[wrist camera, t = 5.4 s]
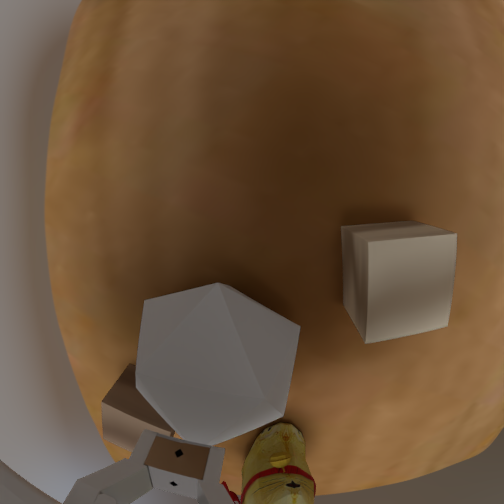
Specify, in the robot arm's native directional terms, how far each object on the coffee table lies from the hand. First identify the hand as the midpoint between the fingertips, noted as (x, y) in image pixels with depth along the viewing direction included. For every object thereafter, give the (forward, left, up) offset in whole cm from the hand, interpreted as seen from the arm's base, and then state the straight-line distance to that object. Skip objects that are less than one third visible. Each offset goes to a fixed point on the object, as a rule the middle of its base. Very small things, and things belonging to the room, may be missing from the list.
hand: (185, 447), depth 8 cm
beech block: (-6, +9, -10) cm, 15 cm away
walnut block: (+8, -5, -10) cm, 14 cm away
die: (0, 0, -10) cm, 10 cm away
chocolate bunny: (+12, +5, -10) cm, 17 cm away
